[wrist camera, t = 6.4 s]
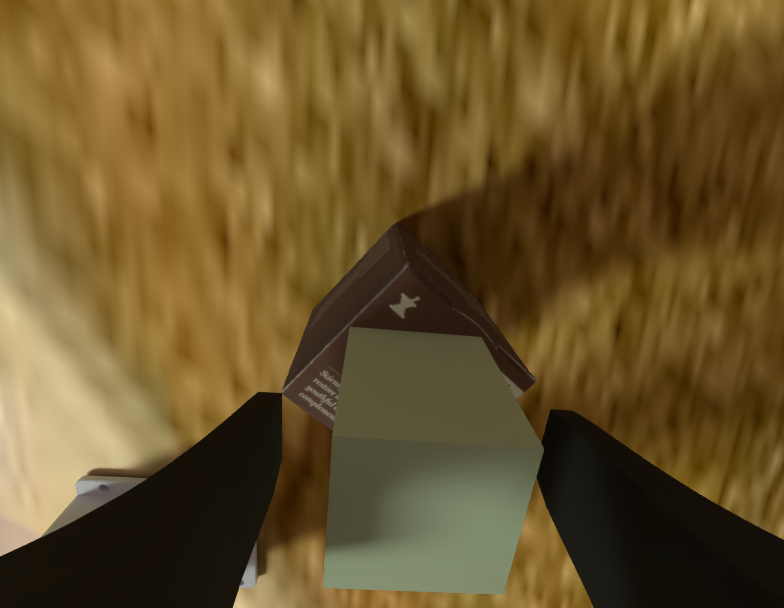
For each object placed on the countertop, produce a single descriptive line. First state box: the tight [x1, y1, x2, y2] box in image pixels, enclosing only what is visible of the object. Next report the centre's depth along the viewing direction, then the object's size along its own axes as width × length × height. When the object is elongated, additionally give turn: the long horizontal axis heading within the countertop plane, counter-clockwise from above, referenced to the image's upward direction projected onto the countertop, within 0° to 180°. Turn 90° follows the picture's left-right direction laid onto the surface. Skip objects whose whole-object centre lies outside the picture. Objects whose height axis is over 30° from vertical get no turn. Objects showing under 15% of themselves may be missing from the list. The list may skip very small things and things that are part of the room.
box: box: [282, 223, 536, 431], centre depth 16 cm, size 6×6×7 cm
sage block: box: [323, 327, 544, 595], centre depth 11 cm, size 4×4×5 cm
